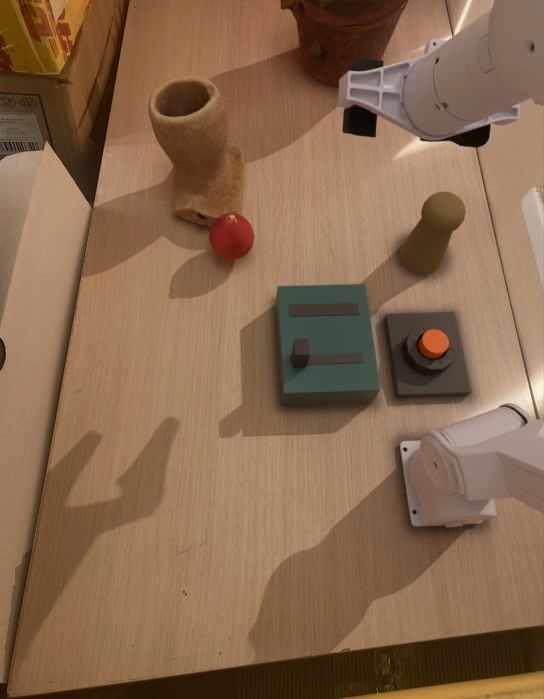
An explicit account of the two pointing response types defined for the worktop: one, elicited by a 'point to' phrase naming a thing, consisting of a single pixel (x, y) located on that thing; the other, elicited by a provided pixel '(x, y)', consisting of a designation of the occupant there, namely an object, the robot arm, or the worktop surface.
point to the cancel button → (433, 344)
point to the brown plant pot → (342, 33)
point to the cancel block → (419, 371)
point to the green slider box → (326, 345)
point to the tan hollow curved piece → (198, 149)
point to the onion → (231, 236)
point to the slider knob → (300, 352)
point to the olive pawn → (432, 233)
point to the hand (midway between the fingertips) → (385, 125)
